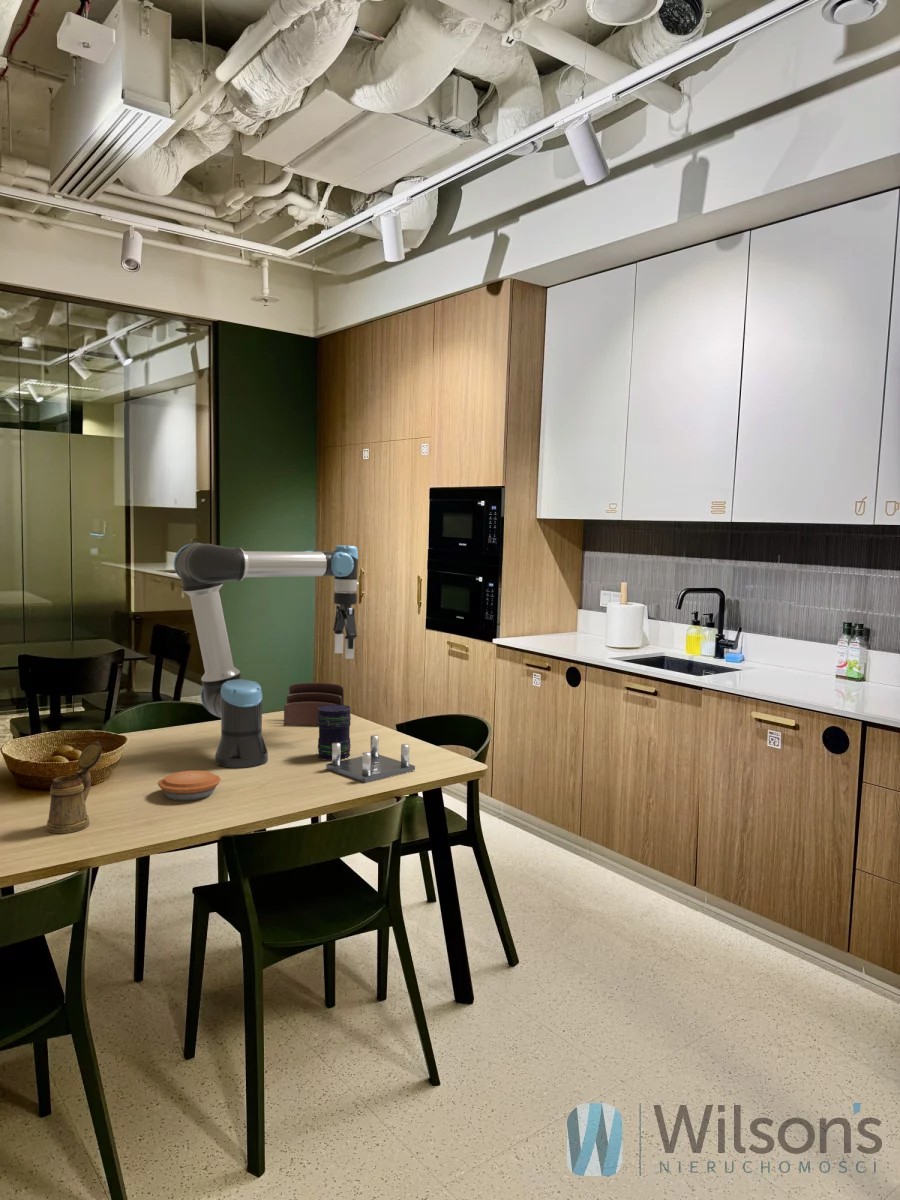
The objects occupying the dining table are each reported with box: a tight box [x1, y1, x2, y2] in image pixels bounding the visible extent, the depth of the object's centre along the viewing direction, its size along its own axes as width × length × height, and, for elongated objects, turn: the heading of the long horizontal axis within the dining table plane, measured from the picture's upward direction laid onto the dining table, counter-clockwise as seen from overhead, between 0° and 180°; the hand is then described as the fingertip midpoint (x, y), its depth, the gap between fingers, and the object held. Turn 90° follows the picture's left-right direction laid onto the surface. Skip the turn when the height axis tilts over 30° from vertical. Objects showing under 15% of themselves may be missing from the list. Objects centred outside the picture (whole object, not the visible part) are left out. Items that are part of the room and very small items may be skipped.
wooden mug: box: [45, 740, 103, 834], centre depth 195 cm, size 9×14×18 cm, turn 153°
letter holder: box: [283, 682, 345, 727], centre depth 302 cm, size 10×20×14 cm, turn 89°
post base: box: [325, 734, 416, 784], centre depth 243 cm, size 18×18×8 cm
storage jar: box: [317, 704, 352, 761], centre depth 257 cm, size 10×10×15 cm
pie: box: [157, 770, 222, 802], centre depth 219 cm, size 15×16×5 cm
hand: (344, 655), depth 283 cm, fingers open, 13 cm apart
